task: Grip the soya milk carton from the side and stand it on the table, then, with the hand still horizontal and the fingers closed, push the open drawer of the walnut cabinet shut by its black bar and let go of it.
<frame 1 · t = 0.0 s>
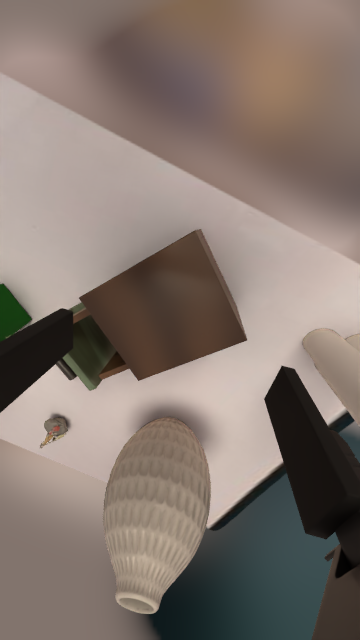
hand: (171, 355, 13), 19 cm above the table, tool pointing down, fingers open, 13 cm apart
soya milk: (6, 309, 37), on the table
cabinet: (176, 291, 31), on the table
drawer: (104, 334, 30), point 5 cm above the table, slide at 7.0 cm
vase 2: (339, 351, 32), on the table
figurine: (62, 420, 47), on the table
vase: (171, 428, 43), on the table
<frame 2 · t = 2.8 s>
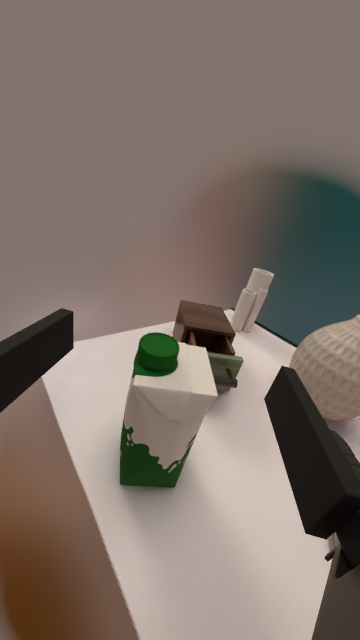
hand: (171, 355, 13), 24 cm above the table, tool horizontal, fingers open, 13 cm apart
soya milk: (150, 458, 30), on the table
cabinet: (195, 348, 57), on the table
drawer: (207, 360, 45), point 5 cm above the table, slide at 7.0 cm
vase 2: (240, 327, 75), on the table
vase: (309, 405, 48), on the table
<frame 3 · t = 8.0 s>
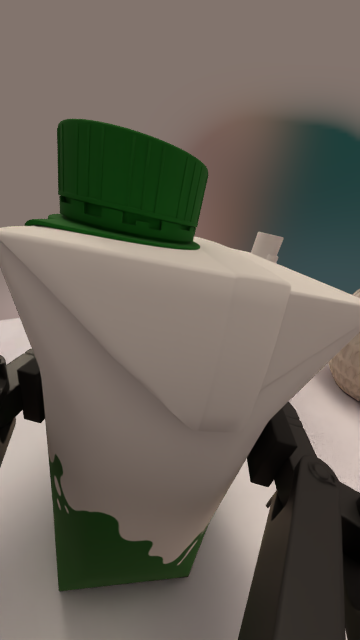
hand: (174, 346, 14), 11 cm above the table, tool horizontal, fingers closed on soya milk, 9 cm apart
soya milk: (132, 509, 15), on the table, touching gripper
vase 2: (244, 306, 62), on the table
vase: (357, 391, 34), on the table
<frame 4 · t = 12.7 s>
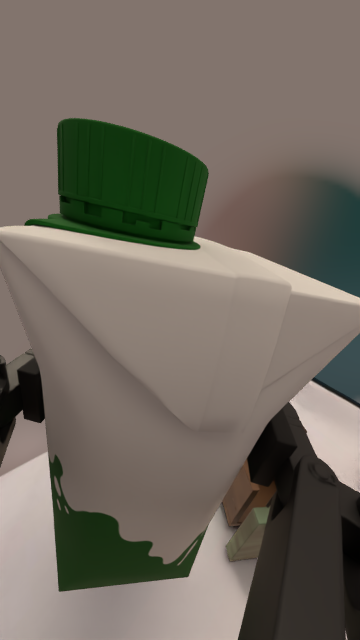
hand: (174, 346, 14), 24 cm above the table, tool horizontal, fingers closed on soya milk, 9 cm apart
soya milk: (132, 509, 15), point 13 cm above the table, touching gripper
drawer: (268, 491, 25), point 5 cm above the table, slide at 7.0 cm
when the fingers open (11 cm above the table, at t = 17.3 s): soya milk stays where it is, on the table.
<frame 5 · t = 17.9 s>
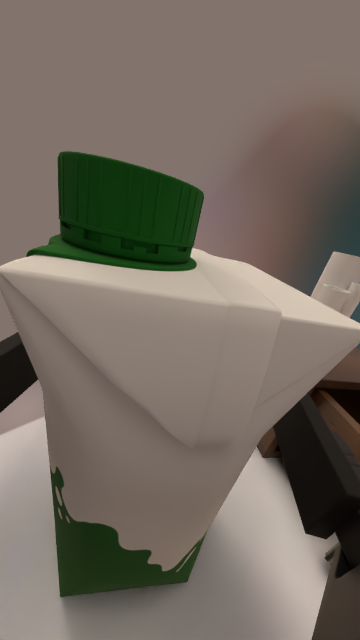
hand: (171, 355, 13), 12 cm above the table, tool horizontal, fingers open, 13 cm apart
soya milk: (133, 514, 15), on the table
cabinet: (276, 403, 28), on the table
vase 2: (307, 345, 48), on the table
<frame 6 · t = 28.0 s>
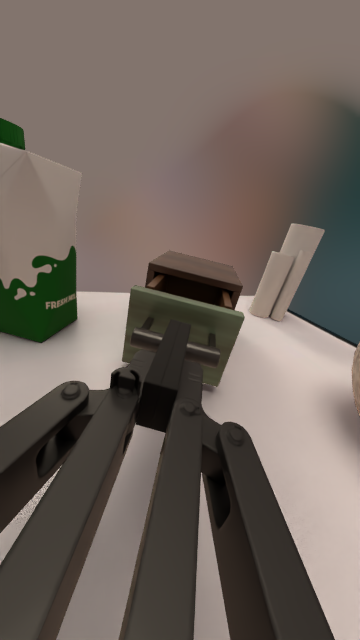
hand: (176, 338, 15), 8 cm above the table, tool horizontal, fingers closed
soya milk: (36, 324, 27), on the table
cabinet: (183, 324, 36), on the table
drawer: (182, 323, 24), point 5 cm above the table, slide at 6.6 cm, touching gripper
vase 2: (268, 314, 52), on the table
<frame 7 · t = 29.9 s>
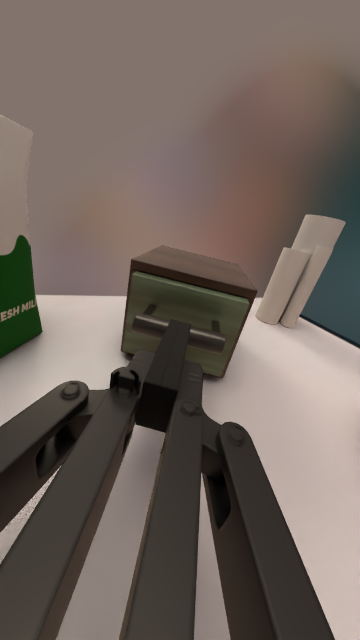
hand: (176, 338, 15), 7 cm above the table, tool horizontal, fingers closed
cabinet: (179, 335, 30), on the table
drawer: (184, 313, 24), point 5 cm above the table, slide at 0.0 cm, touching cabinet, gripper
vase 2: (276, 319, 45), on the table
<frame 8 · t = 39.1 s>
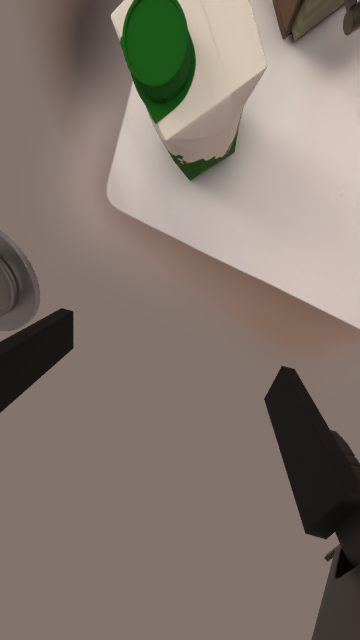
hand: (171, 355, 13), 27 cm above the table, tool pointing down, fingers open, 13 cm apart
soya milk: (201, 141, 30), on the table
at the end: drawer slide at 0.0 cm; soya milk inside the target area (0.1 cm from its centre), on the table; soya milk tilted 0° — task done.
